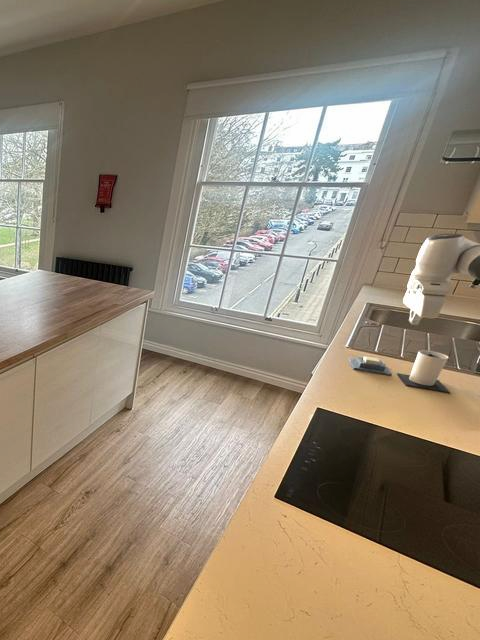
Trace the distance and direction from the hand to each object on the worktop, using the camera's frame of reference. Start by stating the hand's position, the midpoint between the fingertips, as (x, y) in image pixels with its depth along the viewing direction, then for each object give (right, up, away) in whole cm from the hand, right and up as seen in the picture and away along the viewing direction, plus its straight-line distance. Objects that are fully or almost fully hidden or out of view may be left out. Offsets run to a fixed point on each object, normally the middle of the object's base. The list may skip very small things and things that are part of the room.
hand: (413, 323), depth 136 cm
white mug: (0, -20, -3) cm, 20 cm away
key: (-7, -14, +8) cm, 17 cm away
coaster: (0, -20, -3) cm, 21 cm away
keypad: (-7, -16, +9) cm, 19 cm away
